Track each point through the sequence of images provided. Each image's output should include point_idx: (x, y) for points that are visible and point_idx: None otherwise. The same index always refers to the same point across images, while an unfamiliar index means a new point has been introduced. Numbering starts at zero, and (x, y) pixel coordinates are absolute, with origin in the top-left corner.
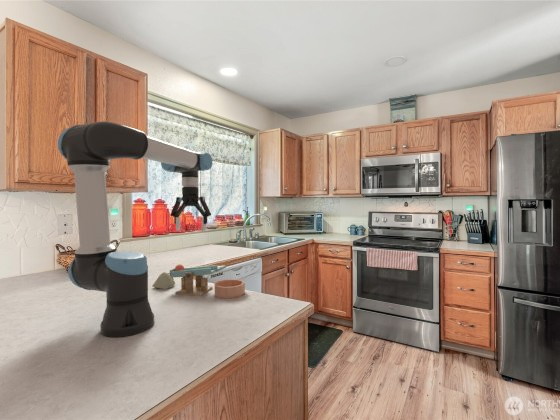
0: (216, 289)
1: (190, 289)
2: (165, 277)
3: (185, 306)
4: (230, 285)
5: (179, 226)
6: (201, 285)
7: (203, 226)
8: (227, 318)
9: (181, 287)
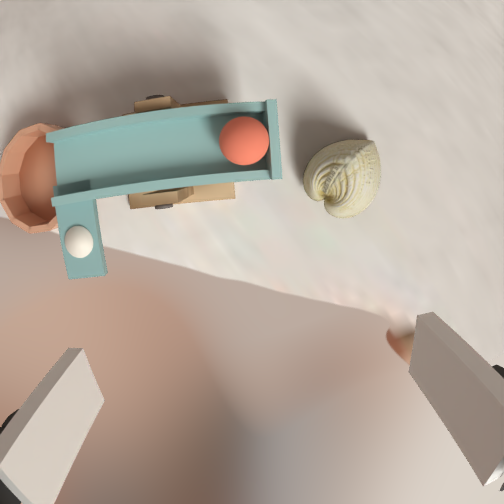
0: (58, 128)
1: None
2: (331, 152)
3: (115, 24)
4: None
5: (433, 385)
6: None
7: (46, 385)
8: (2, 33)
9: None
